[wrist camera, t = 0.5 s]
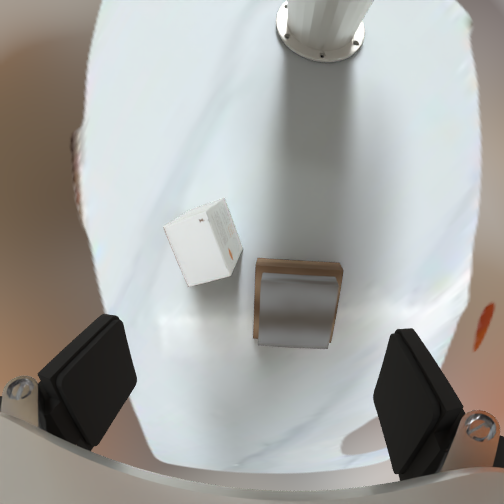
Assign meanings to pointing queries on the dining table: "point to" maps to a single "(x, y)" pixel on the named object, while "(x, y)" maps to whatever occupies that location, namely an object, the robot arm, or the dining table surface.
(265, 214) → the dining table surface
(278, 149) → the dining table surface
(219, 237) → the small box
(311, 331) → the tower base
